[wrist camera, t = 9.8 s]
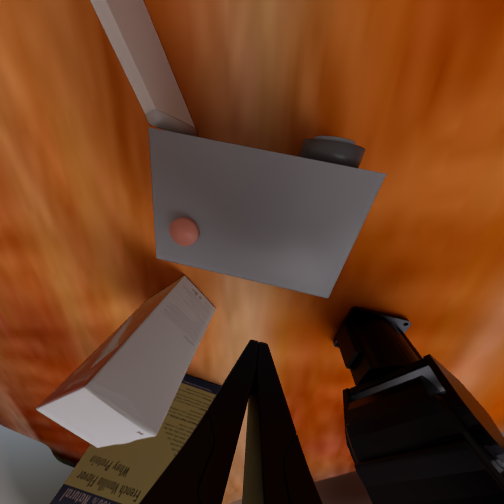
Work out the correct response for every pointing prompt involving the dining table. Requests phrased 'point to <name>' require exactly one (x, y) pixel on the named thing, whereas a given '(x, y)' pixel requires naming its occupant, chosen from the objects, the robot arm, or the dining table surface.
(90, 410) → the small box
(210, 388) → the protein box
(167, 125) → the side door
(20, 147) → the dining table surface
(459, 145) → the dining table surface
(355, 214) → the camera block
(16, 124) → the dining table surface
